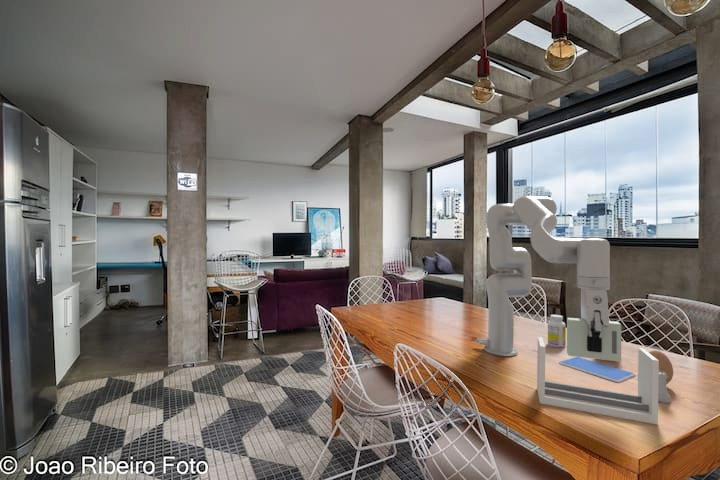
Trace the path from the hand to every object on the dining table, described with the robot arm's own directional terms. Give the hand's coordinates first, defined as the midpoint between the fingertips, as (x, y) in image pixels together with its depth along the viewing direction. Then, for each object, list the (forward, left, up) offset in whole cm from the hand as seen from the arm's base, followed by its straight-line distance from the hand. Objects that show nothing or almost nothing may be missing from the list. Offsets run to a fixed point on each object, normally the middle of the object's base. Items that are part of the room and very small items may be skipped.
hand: (592, 348), depth 93 cm
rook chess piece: (+19, +12, -16) cm, 28 cm away
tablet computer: (+7, +32, -17) cm, 36 cm away
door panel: (0, 0, -2) cm, 2 cm away
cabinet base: (0, 0, -16) cm, 16 cm away
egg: (+22, +24, -16) cm, 36 cm away
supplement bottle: (-2, +56, -16) cm, 59 cm away
